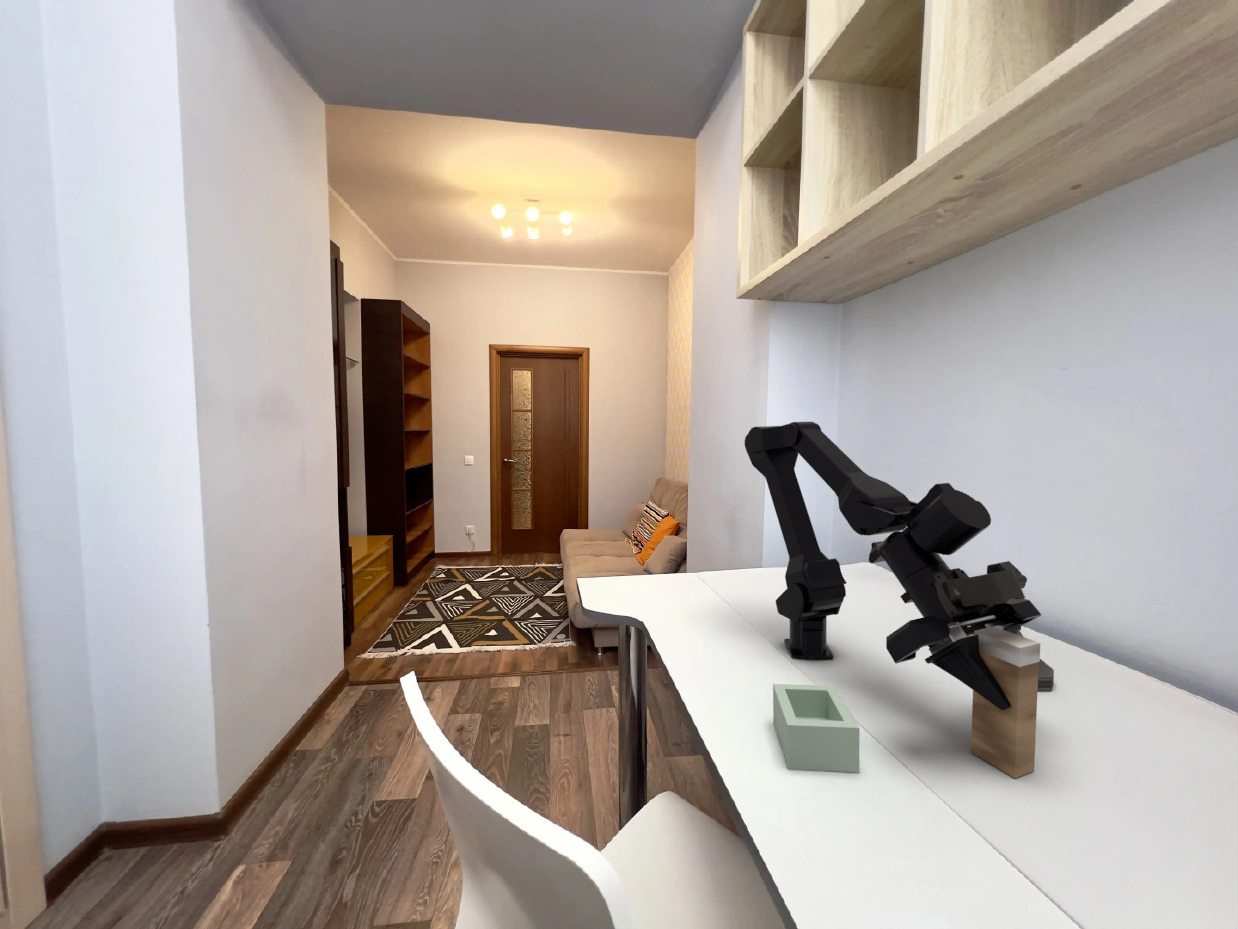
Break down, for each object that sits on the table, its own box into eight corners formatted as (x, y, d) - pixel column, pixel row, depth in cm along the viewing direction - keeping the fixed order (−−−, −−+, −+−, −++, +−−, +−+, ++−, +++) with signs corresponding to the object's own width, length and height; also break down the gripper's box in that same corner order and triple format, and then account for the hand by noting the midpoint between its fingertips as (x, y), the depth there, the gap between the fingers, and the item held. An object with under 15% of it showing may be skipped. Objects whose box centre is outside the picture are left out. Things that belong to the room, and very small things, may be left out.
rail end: (970, 751, 57) (974, 630, 56) (989, 745, 58) (993, 626, 57) (1014, 778, 53) (1020, 648, 52) (1034, 771, 54) (1040, 643, 53)
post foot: (773, 722, 64) (773, 683, 64) (834, 724, 63) (834, 685, 63) (787, 769, 55) (787, 725, 55) (859, 772, 54) (859, 728, 54)
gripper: (909, 548, 54) (1019, 699, 45) (1025, 530, 60) (1142, 659, 51) (851, 598, 62) (934, 734, 52) (959, 577, 68) (1050, 696, 59)
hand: (1017, 705), depth 53 cm, fingers closed on rail end, 3 cm apart
